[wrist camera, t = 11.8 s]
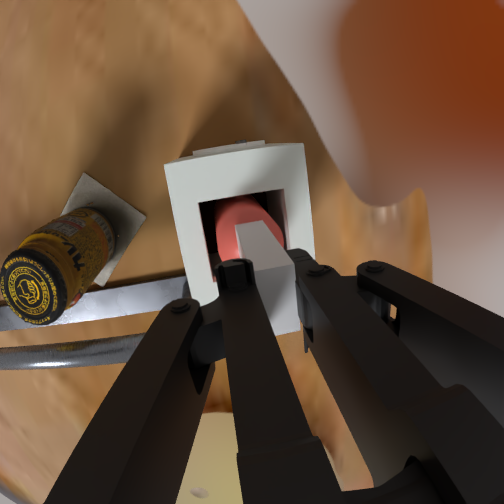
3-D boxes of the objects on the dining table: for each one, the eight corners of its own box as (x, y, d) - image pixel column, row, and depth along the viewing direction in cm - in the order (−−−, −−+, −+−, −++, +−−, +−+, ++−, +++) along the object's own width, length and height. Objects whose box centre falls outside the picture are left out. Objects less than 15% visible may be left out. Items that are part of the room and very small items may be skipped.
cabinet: (177, 151, 26) (162, 154, 17) (269, 136, 27) (302, 132, 18) (199, 265, 30) (197, 321, 21) (284, 250, 31) (317, 298, 21)
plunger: (210, 193, 25) (212, 218, 17) (255, 186, 26) (279, 207, 17) (217, 236, 27) (224, 281, 18) (261, 229, 27) (287, 269, 18)
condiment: (46, 245, 27) (-20, 298, 16) (84, 171, 26) (15, 192, 14) (103, 286, 29) (60, 359, 18) (147, 216, 28) (111, 263, 17)
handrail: (-9, 329, 29) (-49, 376, 19) (-19, 308, 28) (-63, 352, 18) (206, 299, 31) (208, 362, 22) (200, 270, 30) (199, 327, 21)
